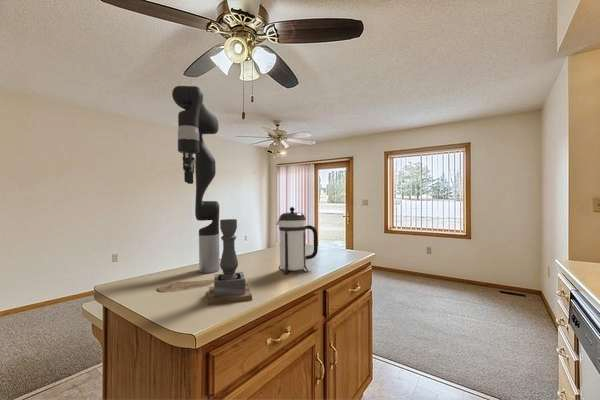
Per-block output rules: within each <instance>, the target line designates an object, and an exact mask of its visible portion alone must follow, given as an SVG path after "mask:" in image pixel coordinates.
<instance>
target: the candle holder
mask: <svg viewBox="0 0 600 400" xmlns="http://www.w3.org/2000/svg"><path fill="white" fill-rule="evenodd" d="M237 229H238V220H237V218H232V219H231V218H230V219H229V218H228V219H225V218H224V219H219V230H220V231H221V234H222V236H221V237H220V239H221V240H222V253H221V258H220V261H219V268H220V270H222V274H223V275H222V277H221V280H233V279H237V278H238V276H237V275H236V273H237V272H236V270H237V268H238V266H239V261H238V258H237V253H236V248H235V247H236V246H235V245H236V244H235V241H236V240H237V235H235V234H236V232H237Z"/></svg>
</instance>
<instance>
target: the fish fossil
mask: <svg viewBox="0 0 600 400" xmlns="http://www.w3.org/2000/svg"><path fill="white" fill-rule="evenodd" d="M212 284H214V279H205V280H194V281H193V280H191V281H190V280H189V281H177V282H173V283H172V282H171V283H170V282H169V283H165V284H162V285H159V286H158V287H157V289H156V290H157V292H159V293H176V292H181V291H188V290H194V289H198V288H203V287H210V286H211V285H212Z"/></svg>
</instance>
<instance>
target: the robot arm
mask: <svg viewBox="0 0 600 400" xmlns="http://www.w3.org/2000/svg"><path fill="white" fill-rule="evenodd" d="M171 94H172V95H171V96H172V98H173V99H172V100H173V101H174V103H175V104H176V105H177V106H178V107H179V108H181V109H183V110H181V111H179V112H178V115H177V117H178V118H177V119H178V121H177V123H178V125H177V126H178V127H177V128H178V129H177V152H178V153H180V154H182V169H183V172H184V175H183V177H184V180H183V181H184V183H185V184H188V185H190V184H191V185H192V184H194V175H195V202H194V203H195V206H194V207H195V209H194V210H195V211H194V212H195V214H194V215H195V219H196V220H197V221H199V222H201V221H202V222H203V221H211V222H210V223H209V224H208V225H206V226H204V227H201V228H199V229H198V265H199V266H198V270H199V273H201V274H202V273H204V274H206V273H207V274H208V273H210V274H211V273H215V272H218V271H220V204H219V202H218V201H217V200H203V197H204V196H205V195H204V194H205V192H206V191H207V189H208V187H209V185H210V184H211V183H212V181H213V179H214V178H215V176H216V174H217V173H216V169H217V168H216V159H215V157H214V156H213V154H212V153H211V151H210V150H209V148H208V147H207V146H206V144H205V141H204V137H203V135H215V134H217V133H218V131H219V120H218V118H217V116H216V115H215V114H214V113H212V112H211V111H210V110H209V109H208V108H207V107H206V105H205V104H204V102H203V101H204V93H203V90H202V89H201V88H200V87H199V86H195V85H177V86H175V87H174V88H173V89H172V93H171ZM193 155H195V156H193ZM194 173H195V174H194Z"/></svg>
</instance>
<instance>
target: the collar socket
mask: <svg viewBox="0 0 600 400" xmlns="http://www.w3.org/2000/svg"><path fill="white" fill-rule="evenodd" d="M235 273H236V275H237V276H238V278H237V279H233V280H221V277H222V275H223V274H224V273H217V274H214V279H213V280H214V283H213V286H208V287H209V289H208V295H207V306H210V305H219V304H220V305H221V304H227V303H228V304H230V303H235V302H236V303H237V302H245V301H246V302H247V301H252V300H253V295H252V292H251V289H250V285H249V283H246V279H245V274H244V272H243V271H240V272H239V271H238V272H235Z"/></svg>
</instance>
